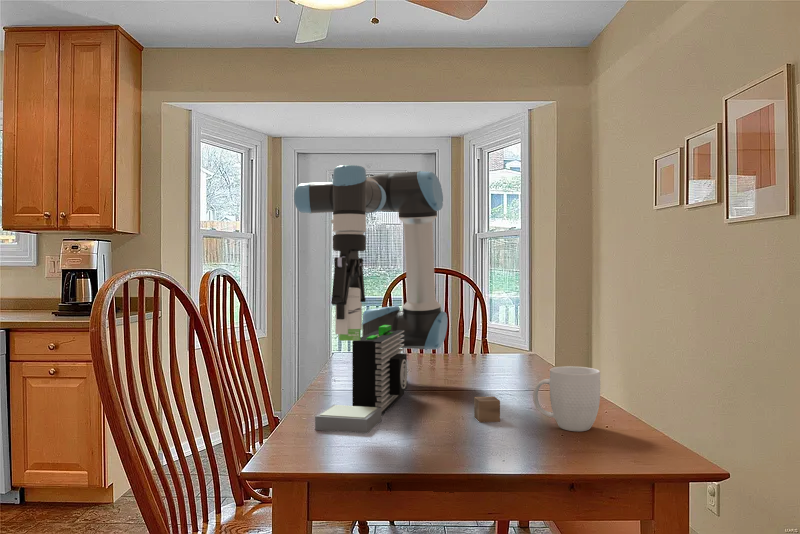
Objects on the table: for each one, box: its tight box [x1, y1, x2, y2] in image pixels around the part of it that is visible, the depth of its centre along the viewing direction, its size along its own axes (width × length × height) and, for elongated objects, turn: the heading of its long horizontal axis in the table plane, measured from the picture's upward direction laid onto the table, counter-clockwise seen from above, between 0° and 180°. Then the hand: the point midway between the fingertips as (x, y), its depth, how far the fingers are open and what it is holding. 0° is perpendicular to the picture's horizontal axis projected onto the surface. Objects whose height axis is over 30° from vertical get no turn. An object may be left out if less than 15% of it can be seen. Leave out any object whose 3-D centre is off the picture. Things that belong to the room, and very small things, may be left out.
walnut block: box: [473, 396, 501, 423], centre depth 155 cm, size 5×5×5 cm
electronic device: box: [351, 325, 408, 416], centre depth 172 cm, size 28×11×20 cm, turn 168°
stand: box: [314, 404, 383, 434], centre depth 150 cm, size 12×12×3 cm
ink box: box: [337, 287, 362, 342], centre depth 149 cm, size 9×5×12 cm, turn 7°
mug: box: [532, 365, 601, 432], centre depth 148 cm, size 15×11×13 cm
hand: (349, 331), depth 149 cm, fingers closed on ink box, 9 cm apart
